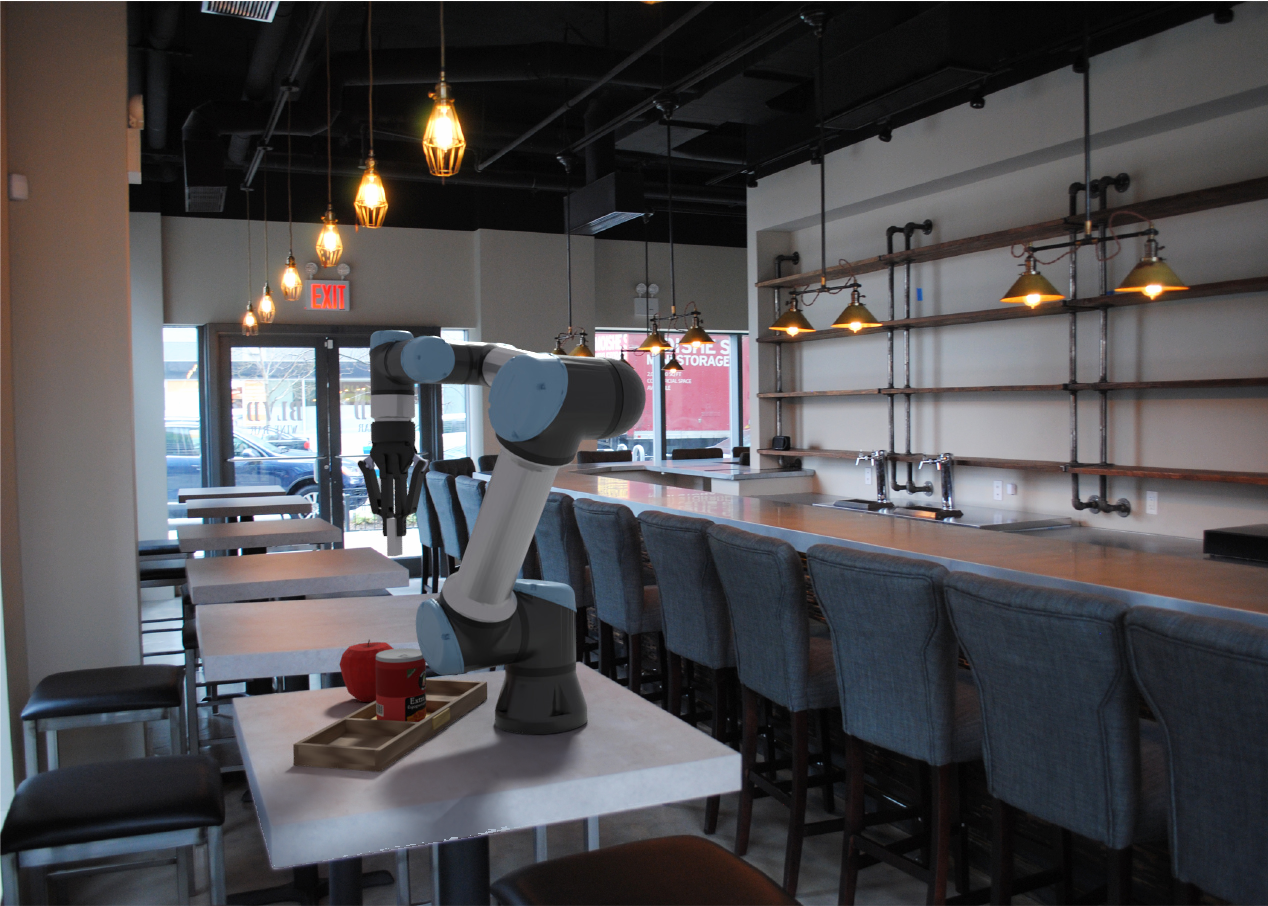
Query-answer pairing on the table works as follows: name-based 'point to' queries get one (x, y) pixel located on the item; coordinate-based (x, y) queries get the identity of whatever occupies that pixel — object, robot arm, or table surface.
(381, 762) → the caddy
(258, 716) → the table surface
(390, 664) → the canned food
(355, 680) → the apple
